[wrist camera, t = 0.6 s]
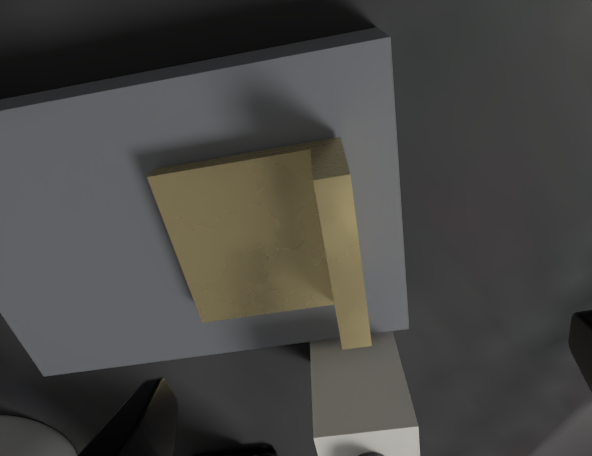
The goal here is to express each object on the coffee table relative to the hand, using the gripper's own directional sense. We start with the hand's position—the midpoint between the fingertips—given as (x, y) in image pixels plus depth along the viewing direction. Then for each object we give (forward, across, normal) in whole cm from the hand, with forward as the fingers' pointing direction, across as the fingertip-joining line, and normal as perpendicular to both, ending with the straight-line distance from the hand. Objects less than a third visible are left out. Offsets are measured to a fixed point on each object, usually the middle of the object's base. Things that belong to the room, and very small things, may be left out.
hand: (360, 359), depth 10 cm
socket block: (+13, +7, +2) cm, 15 cm away
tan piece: (+9, +3, +2) cm, 10 cm away
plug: (+13, +1, +12) cm, 18 cm away
